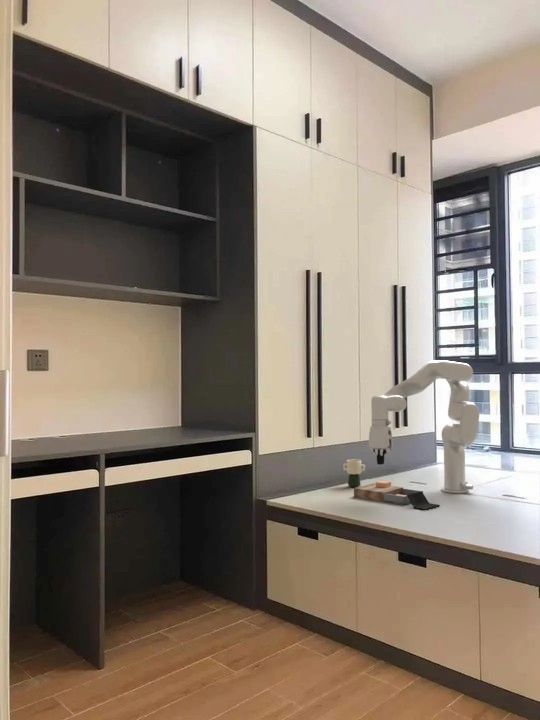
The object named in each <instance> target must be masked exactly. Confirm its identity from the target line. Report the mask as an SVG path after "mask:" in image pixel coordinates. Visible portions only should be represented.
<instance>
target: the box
mask: <svg viewBox="0 0 540 720" xmlns="http://www.w3.org/2000/svg"><path fill="white" fill-rule="evenodd" d="M421 491H422V492H423V493H424V491H423V490H417V489H410V488H409V489H408V488H404V487H403V489H402V492H403V495H406V496H398V495H392V494H384V502H383V503H388V502H390V504H395V503H396V505H401V504H402V506H406V505H408V503H409V504H411V502H410V500H409V499H408V497H407V495H409V494H413V493H417V492H421Z"/></svg>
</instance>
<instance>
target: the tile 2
mask: <svg viewBox="0 0 540 720" xmlns="http://www.w3.org/2000/svg"><path fill="white" fill-rule="evenodd" d="M375 483H376V487H382V488H387V487H390V486H392V482H391V481H386V480H380V481H376V482H375Z"/></svg>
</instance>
